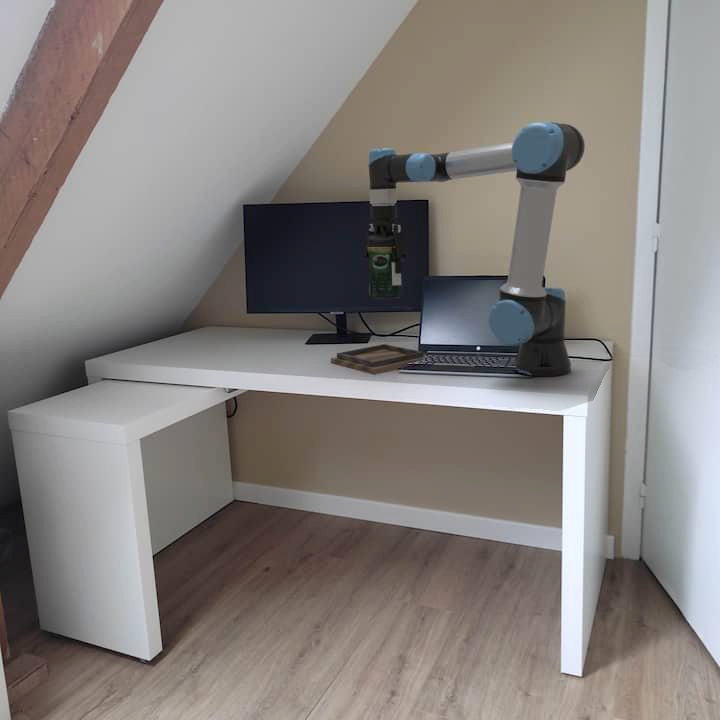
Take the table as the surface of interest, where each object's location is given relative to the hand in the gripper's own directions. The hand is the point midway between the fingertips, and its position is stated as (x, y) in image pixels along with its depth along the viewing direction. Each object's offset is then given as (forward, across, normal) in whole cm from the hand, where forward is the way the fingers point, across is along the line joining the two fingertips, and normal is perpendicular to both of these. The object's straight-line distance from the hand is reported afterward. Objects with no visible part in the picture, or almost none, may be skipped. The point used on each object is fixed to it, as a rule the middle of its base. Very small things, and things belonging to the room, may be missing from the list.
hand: (385, 283), depth 213 cm
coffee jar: (+4, 0, 0) cm, 4 cm away
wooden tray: (+24, +4, 0) cm, 24 cm away
